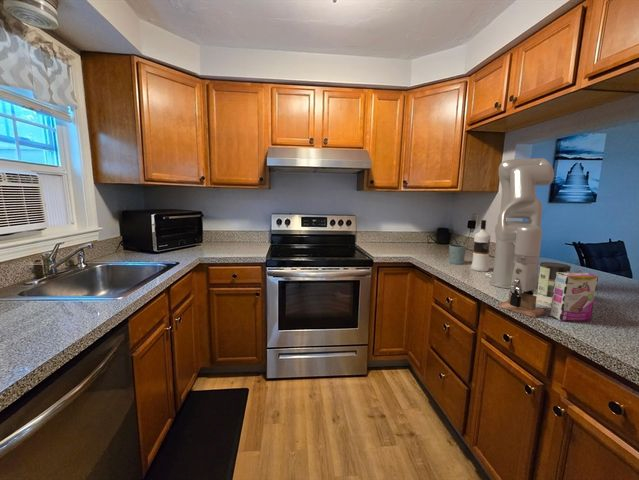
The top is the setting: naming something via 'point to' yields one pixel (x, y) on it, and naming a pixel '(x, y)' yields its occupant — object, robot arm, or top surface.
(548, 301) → the block
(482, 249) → the vodka
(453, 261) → the light blue cup
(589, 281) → the candy bar box
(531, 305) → the plate with tan block
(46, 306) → the top surface
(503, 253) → the robot arm
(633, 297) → the top surface
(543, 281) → the coffee can
